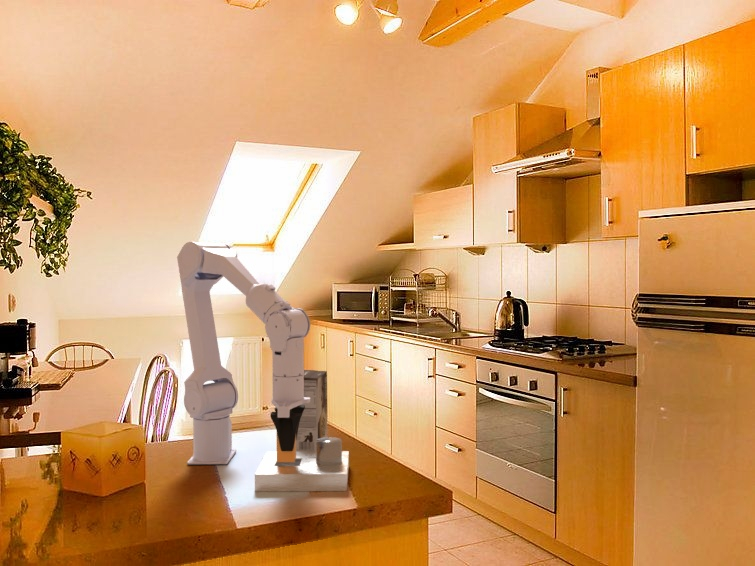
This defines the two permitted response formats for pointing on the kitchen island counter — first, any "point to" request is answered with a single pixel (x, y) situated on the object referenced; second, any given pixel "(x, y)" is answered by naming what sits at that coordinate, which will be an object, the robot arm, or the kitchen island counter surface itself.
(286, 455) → the orange rectangular block
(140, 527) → the kitchen island counter surface
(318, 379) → the coffee box
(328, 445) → the white base platform
